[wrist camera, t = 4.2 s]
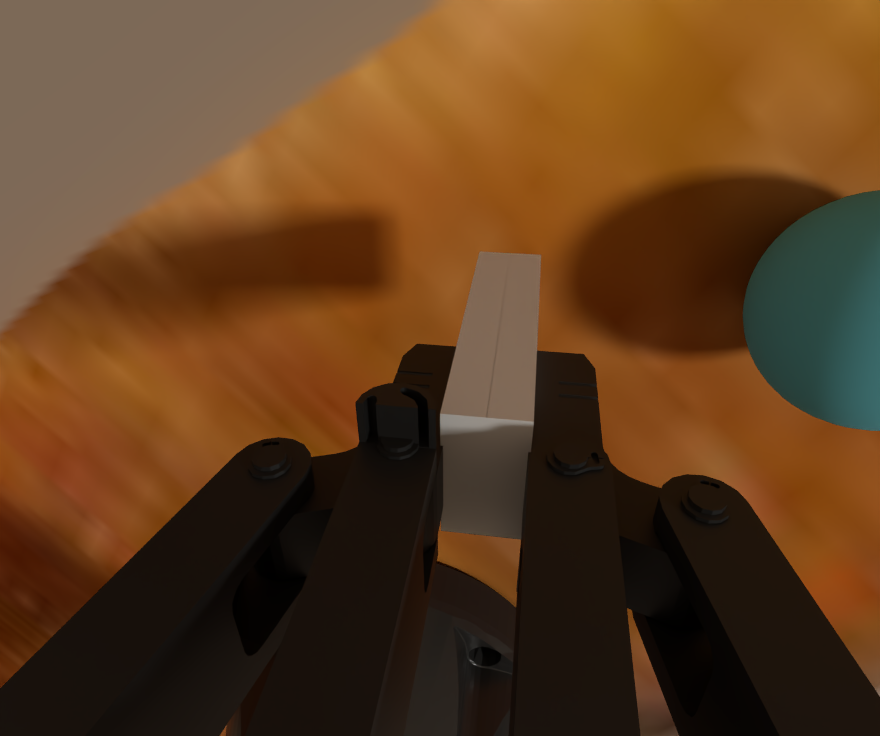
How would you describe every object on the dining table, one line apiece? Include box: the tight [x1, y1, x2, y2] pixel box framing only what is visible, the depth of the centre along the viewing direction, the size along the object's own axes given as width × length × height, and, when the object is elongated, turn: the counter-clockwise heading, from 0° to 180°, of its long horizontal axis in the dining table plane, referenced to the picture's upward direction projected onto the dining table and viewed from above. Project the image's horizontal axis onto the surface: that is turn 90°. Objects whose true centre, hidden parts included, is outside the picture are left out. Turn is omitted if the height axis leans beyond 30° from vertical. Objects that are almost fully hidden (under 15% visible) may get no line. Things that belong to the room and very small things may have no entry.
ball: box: [743, 190, 880, 431], centre depth 16 cm, size 6×6×6 cm
